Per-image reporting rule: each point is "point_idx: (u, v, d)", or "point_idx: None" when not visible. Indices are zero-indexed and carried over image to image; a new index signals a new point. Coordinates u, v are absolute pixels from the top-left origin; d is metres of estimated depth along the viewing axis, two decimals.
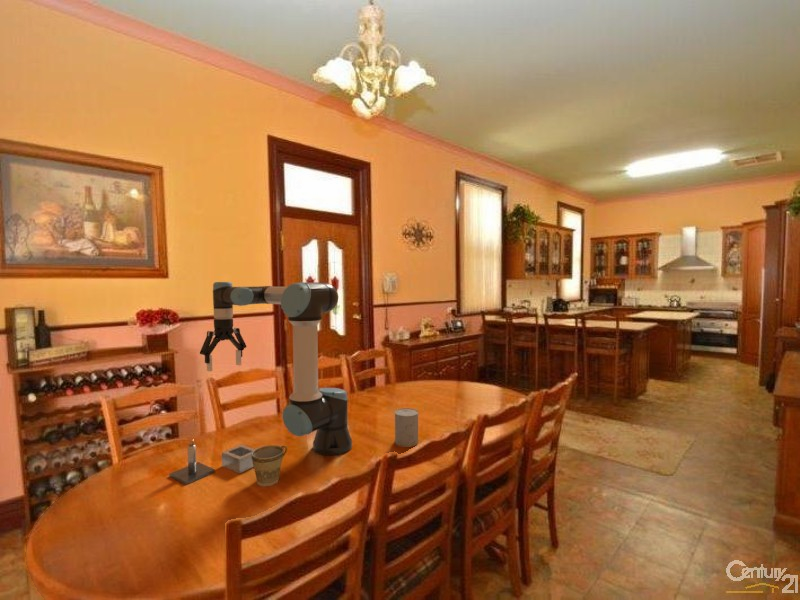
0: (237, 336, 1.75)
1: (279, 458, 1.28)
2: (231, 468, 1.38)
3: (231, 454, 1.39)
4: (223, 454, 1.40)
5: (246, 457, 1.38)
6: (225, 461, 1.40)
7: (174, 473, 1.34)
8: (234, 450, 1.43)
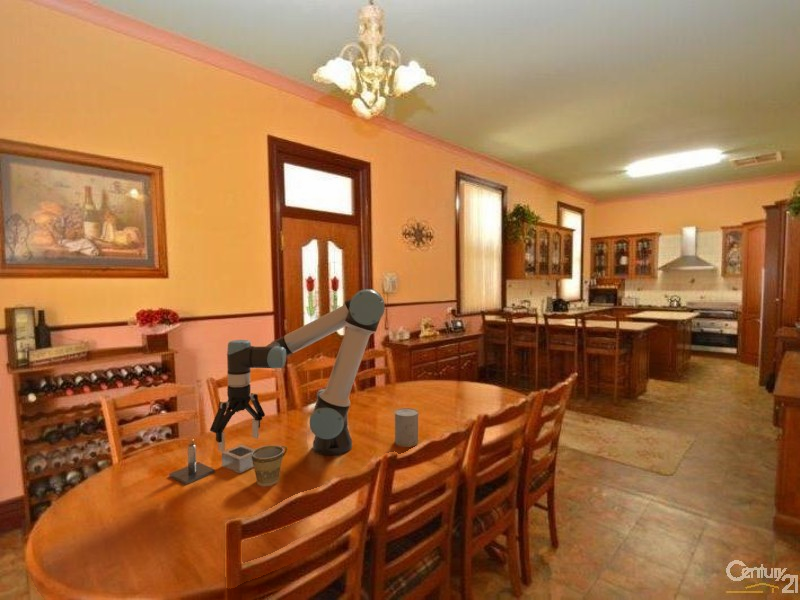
0: (254, 403, 1.46)
1: (279, 458, 1.28)
2: (231, 468, 1.38)
3: (231, 454, 1.39)
4: (223, 454, 1.40)
5: (246, 457, 1.38)
6: (225, 461, 1.40)
7: (174, 473, 1.34)
8: (234, 450, 1.43)
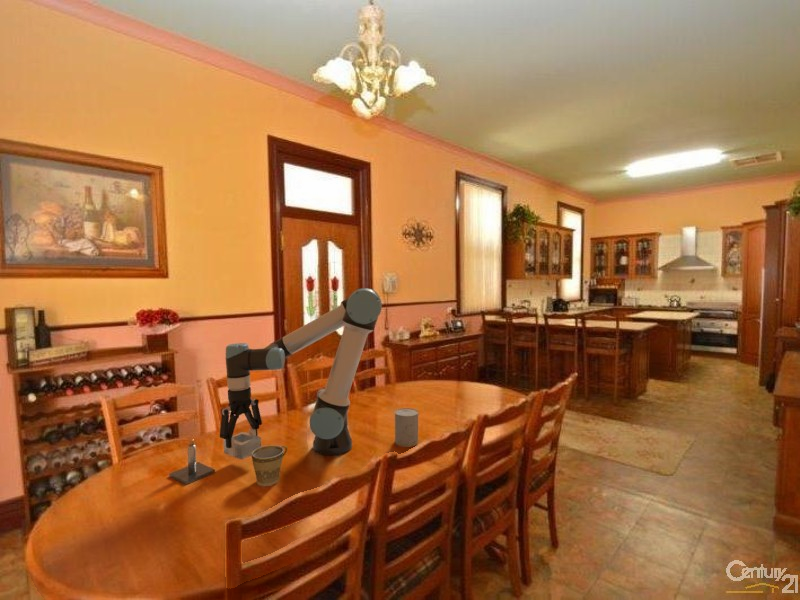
0: (254, 409, 1.45)
1: (279, 458, 1.28)
2: None
3: None
4: (225, 441, 1.40)
5: (248, 443, 1.37)
6: None
7: (174, 473, 1.34)
8: (236, 437, 1.43)
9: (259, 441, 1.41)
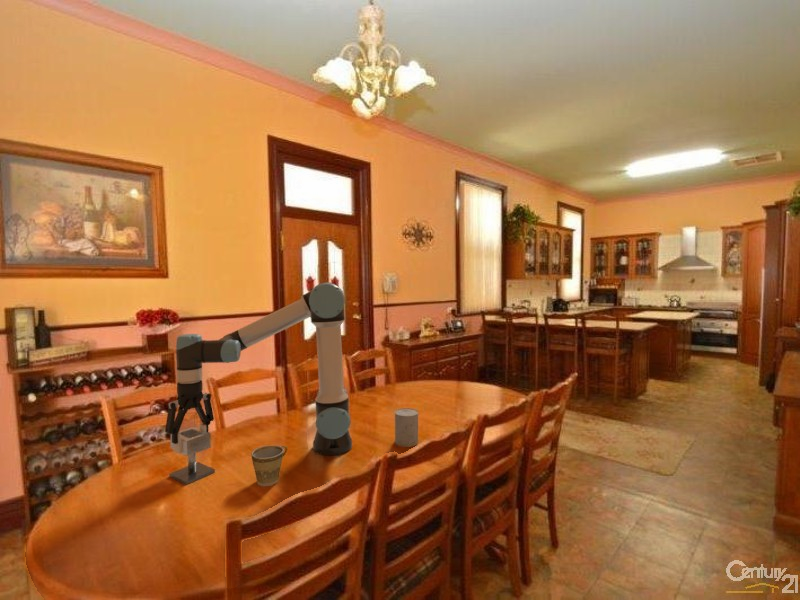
0: (206, 404, 1.38)
1: (279, 458, 1.28)
2: None
3: None
4: None
5: (195, 439, 1.31)
6: None
7: (174, 473, 1.34)
8: (184, 432, 1.36)
9: (208, 437, 1.34)
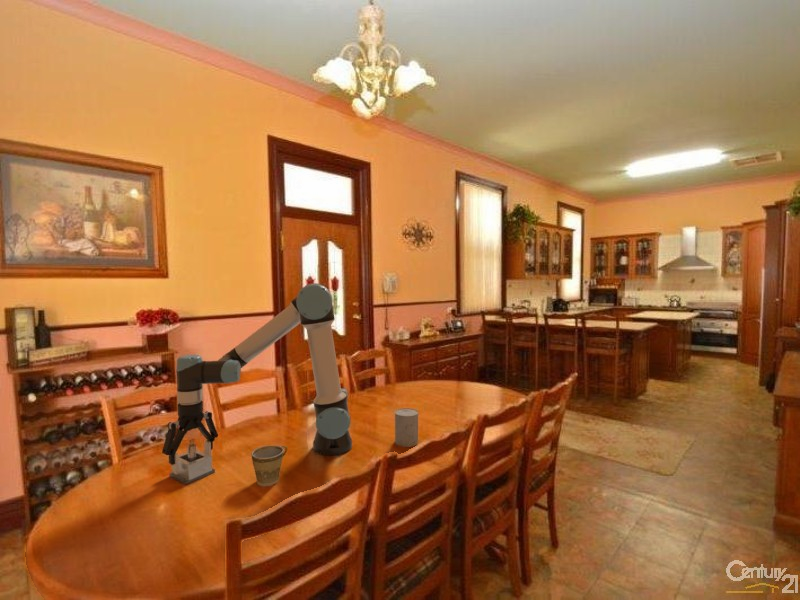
0: (208, 422, 1.39)
1: (279, 458, 1.28)
2: (181, 474, 1.31)
3: (181, 460, 1.32)
4: None
5: (196, 463, 1.31)
6: None
7: None
8: (186, 455, 1.37)
9: (210, 460, 1.35)
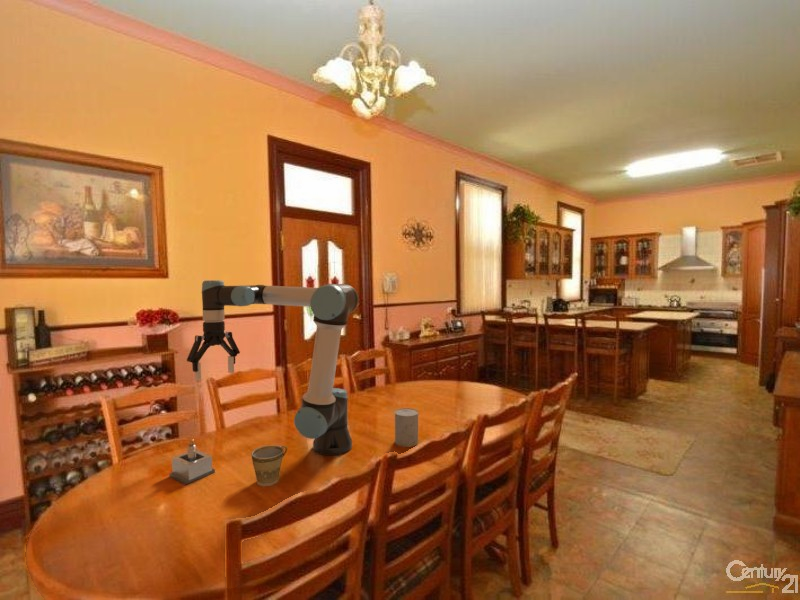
0: (229, 341, 1.57)
1: (279, 458, 1.28)
2: (181, 474, 1.31)
3: (181, 460, 1.32)
4: (173, 460, 1.34)
5: (196, 463, 1.31)
6: (175, 467, 1.33)
7: (174, 473, 1.34)
8: (186, 455, 1.37)
9: (210, 460, 1.35)
